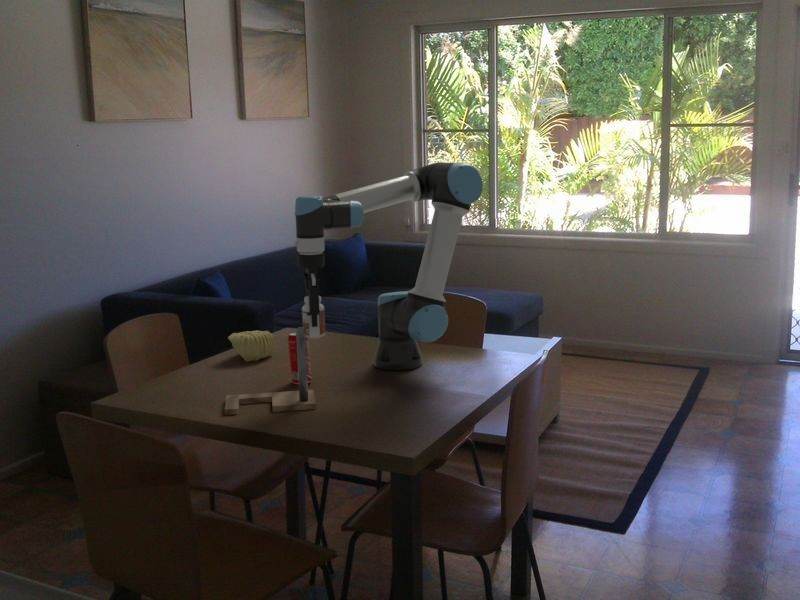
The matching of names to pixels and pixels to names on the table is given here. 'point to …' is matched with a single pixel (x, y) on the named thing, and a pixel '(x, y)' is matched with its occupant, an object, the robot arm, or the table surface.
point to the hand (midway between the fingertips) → (313, 334)
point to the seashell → (253, 344)
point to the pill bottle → (306, 317)
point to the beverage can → (294, 361)
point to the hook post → (302, 364)
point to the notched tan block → (278, 399)
